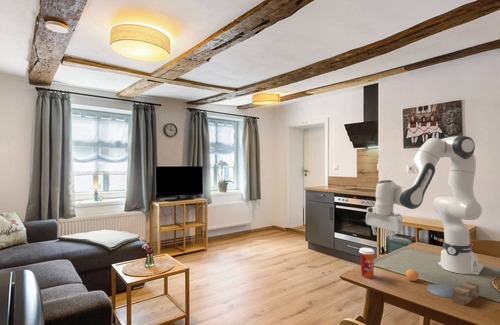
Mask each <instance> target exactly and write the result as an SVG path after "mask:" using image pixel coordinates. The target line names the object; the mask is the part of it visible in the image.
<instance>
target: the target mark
mask: <svg viewBox="0 0 500 325" xmlns="http://www.w3.org/2000/svg"><path fill="white" fill-rule="evenodd" d="M425 288H426V291H428V292H429V293H430V294H432V295H435V296H438V297H442V298H448V299H453V290H454V289H455V288H454V287H451V286H449V285H446V284H445V285H444V284H434V283H433V284H428V285H427V286H426V287H425Z"/></svg>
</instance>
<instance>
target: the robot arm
mask: <svg viewBox="0 0 500 325" xmlns="http://www.w3.org/2000/svg"><path fill="white" fill-rule="evenodd" d="M475 146H476V144H475V141H474V140H473V138H471V137H470V136H468V135H455V136H448V137H444V138H437V137H431V138H428V139H427V140H426V141H425V142H424V143H423V144H422V145H421V146H420V147H419V149H418V150H417V151H416V153H415V154H414V156H413V158H412V166H413V167H414V169H415V170H417V171H418V175H417V177H416V179H415V180H414V183H413V184H412V185H411V186H410V187H404V186H401V185H399V184H396V183H395V182H394V181H393V180H390V179H389V180H388V179H384V180H383V179H382V180H379V181H378V182H377V183H376V186H375V203H374V206H372V207H367V208H366V215H365V224H366V225H367V226H371V230H372V234H373V236H377V235H378V234H379V233H378V231H377V228H379V229H383V230H387V231H390V235H388V240H390V241H391V240H392V241H393V239H394V236H395V235H396V233H402V232H403V231H404V230H403V228H404V227H403V217H402V215H401V214H400V213H396V212H394V206H395V205H397V206H401V207H404V208H406V209H410V210H416V209H418V208H420V207H421V205H422V203H423V200H424V197H425V194H426V191H427V189H428V187H429V185H430V183H431V181H432V180H433V178H434V175H435V174H436V166H437V164H438V162H439V161H440V160H441V158H450V160H451V164H450V167H449V173H448V179H447V186H448V187H449V188H450V189H451V192H452V196H450V195H440V196H437V197H436V198H434V200H433V202H432V208H433V210H434V211H435V212H436V213H437V214H438V216H439V218H440V220H441V224H442V226H443V236H444V237H443V238H444V239H443V240H444V241H443V245H442V246H443V249H442V250H440V251H441V253H440V261H438V262H437V264H438V265H439V266H441V268H442V269H444V270H445V271H448V272H452V273H456V274H460V275H461V274H462V275H476V276H478V275H480V273H481V272H482V270H483V268H484V265H483V264H481V263H479V258H478V256H477V255H476V254H475V253H474V251H473V250H472V248H473V247H474V244H473V242H470V230H469V228H468V227H467V226H466V225H465V224H464V221H463V220H465V221H475V220H479V218H480V217H481V216H482V213H483V208H482V206H481V204H480V203H479V202H478V201H477V199H476V197H475V194H474V183H475V176H476V168H477V166H476V164H477V163H476V161H477V160H476V159H477V158H476V156H475V155H474V153H475V148H476V147H475Z"/></svg>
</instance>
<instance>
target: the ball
mask: <svg viewBox="0 0 500 325" xmlns="http://www.w3.org/2000/svg"><path fill="white" fill-rule="evenodd" d="M405 276H406V278H407V279H408V280H409V281H412V282H415V281H417V280H418V279H419V273H418V272H417V270H415V269H414V268H413V269H412V268H408V269H407V270H406V271H405Z"/></svg>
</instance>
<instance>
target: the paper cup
mask: <svg viewBox="0 0 500 325" xmlns="http://www.w3.org/2000/svg"><path fill="white" fill-rule="evenodd" d="M358 253H359V257H360V258H359V259H360V269H361V270H360V271H361V277H363V278H365V279H373V278H374V269H375V253H376V252H375V250H374V249H373V248H371V247H361V248H359V251H358Z"/></svg>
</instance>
